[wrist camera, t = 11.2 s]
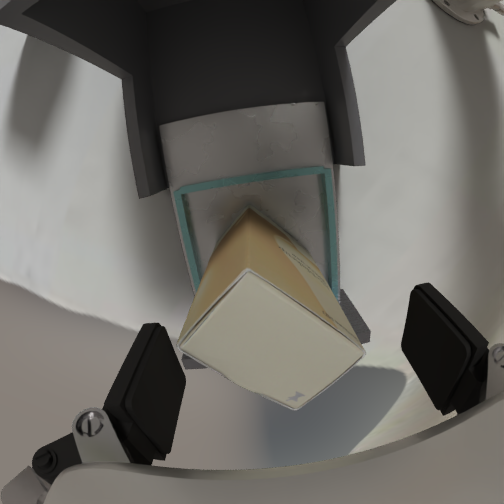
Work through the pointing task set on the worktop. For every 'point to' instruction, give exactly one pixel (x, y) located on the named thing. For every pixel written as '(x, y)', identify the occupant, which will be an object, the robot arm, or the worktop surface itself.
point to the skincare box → (268, 316)
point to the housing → (210, 61)
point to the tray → (256, 185)
